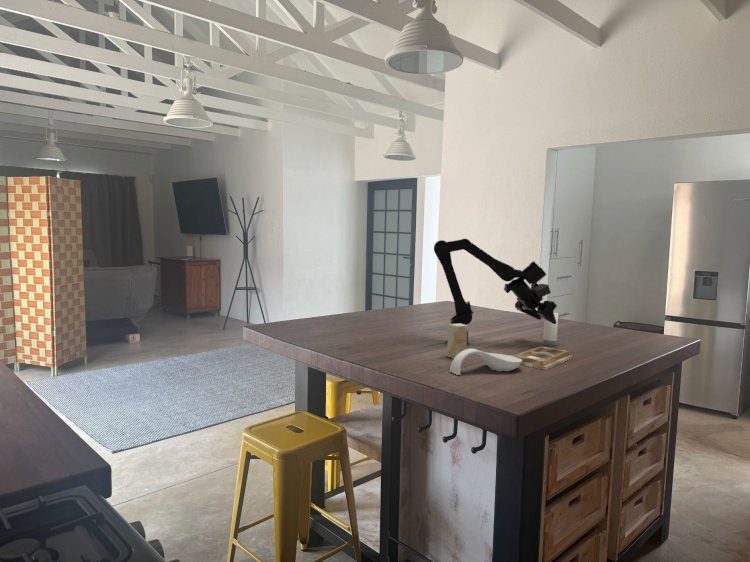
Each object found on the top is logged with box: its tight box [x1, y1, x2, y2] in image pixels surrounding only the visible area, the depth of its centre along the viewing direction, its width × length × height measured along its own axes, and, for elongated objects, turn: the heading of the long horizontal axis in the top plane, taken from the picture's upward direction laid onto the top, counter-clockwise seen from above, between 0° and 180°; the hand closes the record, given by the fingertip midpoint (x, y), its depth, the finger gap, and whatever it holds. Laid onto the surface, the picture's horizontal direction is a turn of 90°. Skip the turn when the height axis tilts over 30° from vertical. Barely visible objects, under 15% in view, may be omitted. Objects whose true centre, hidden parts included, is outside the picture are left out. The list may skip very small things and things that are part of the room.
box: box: [446, 323, 469, 359], centre depth 175 cm, size 5×4×11 cm
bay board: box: [512, 345, 573, 371], centre depth 175 cm, size 14×21×2 cm, turn 138°
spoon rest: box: [449, 348, 522, 376], centre depth 160 cm, size 24×12×7 cm, turn 116°
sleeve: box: [542, 311, 559, 347], centre depth 198 cm, size 5×5×12 cm
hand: (547, 321), depth 198 cm, fingers open, 9 cm apart
